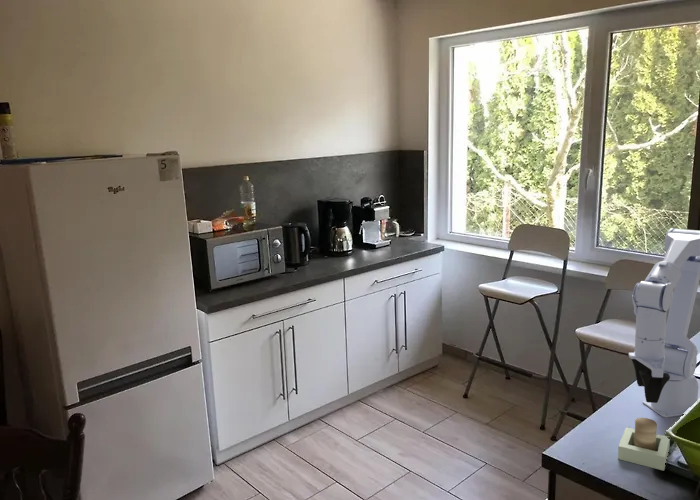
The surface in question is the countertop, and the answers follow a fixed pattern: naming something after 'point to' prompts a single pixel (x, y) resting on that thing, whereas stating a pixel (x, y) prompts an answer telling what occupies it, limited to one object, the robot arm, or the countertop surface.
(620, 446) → the socket
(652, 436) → the peg
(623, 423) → the countertop surface
